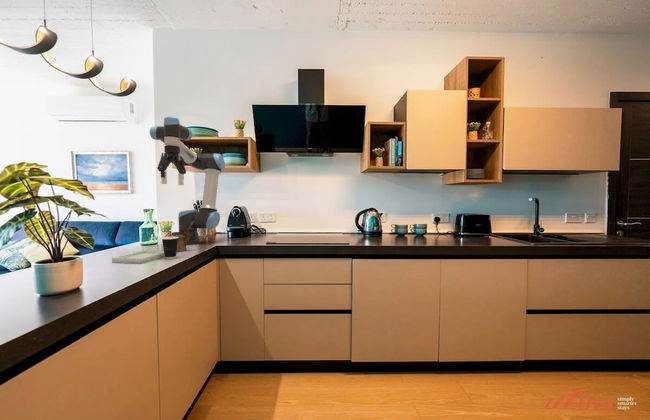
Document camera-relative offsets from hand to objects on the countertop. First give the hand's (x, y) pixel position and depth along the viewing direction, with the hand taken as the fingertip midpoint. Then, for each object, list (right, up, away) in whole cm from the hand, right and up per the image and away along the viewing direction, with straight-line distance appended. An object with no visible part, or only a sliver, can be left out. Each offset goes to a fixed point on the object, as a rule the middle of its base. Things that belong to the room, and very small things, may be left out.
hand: (172, 184), depth 155 cm
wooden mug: (0, -39, +11) cm, 40 cm away
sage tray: (-9, -39, -12) cm, 42 cm away
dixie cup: (+4, -39, -10) cm, 41 cm away
